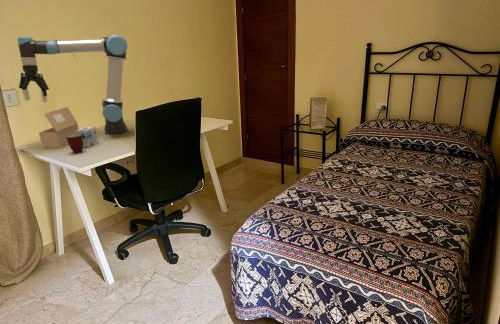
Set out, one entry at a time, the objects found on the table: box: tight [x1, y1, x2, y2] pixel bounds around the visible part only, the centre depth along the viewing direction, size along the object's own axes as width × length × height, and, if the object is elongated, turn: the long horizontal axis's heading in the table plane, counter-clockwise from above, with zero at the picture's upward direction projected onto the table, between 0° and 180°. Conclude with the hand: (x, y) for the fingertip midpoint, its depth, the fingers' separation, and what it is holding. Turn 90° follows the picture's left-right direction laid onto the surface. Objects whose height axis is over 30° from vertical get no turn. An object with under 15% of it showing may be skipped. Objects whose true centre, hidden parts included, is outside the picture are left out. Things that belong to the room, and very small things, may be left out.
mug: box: [67, 134, 83, 154], centre depth 201 cm, size 10×8×10 cm
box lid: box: [43, 106, 78, 132], centre depth 214 cm, size 12×20×1 cm
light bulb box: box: [76, 126, 99, 149], centre depth 212 cm, size 11×7×11 cm, turn 168°
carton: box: [38, 124, 79, 149], centre depth 219 cm, size 12×20×10 cm, turn 170°
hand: (36, 101), depth 208 cm, fingers open, 13 cm apart
